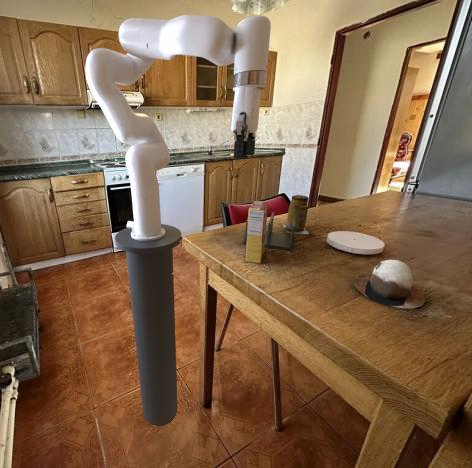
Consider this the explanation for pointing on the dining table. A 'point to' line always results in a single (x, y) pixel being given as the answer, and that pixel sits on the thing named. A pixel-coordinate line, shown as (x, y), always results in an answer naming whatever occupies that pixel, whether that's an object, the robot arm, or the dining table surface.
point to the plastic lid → (355, 242)
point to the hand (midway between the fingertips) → (244, 156)
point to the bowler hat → (390, 285)
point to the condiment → (297, 214)
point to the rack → (276, 236)
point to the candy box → (256, 231)
